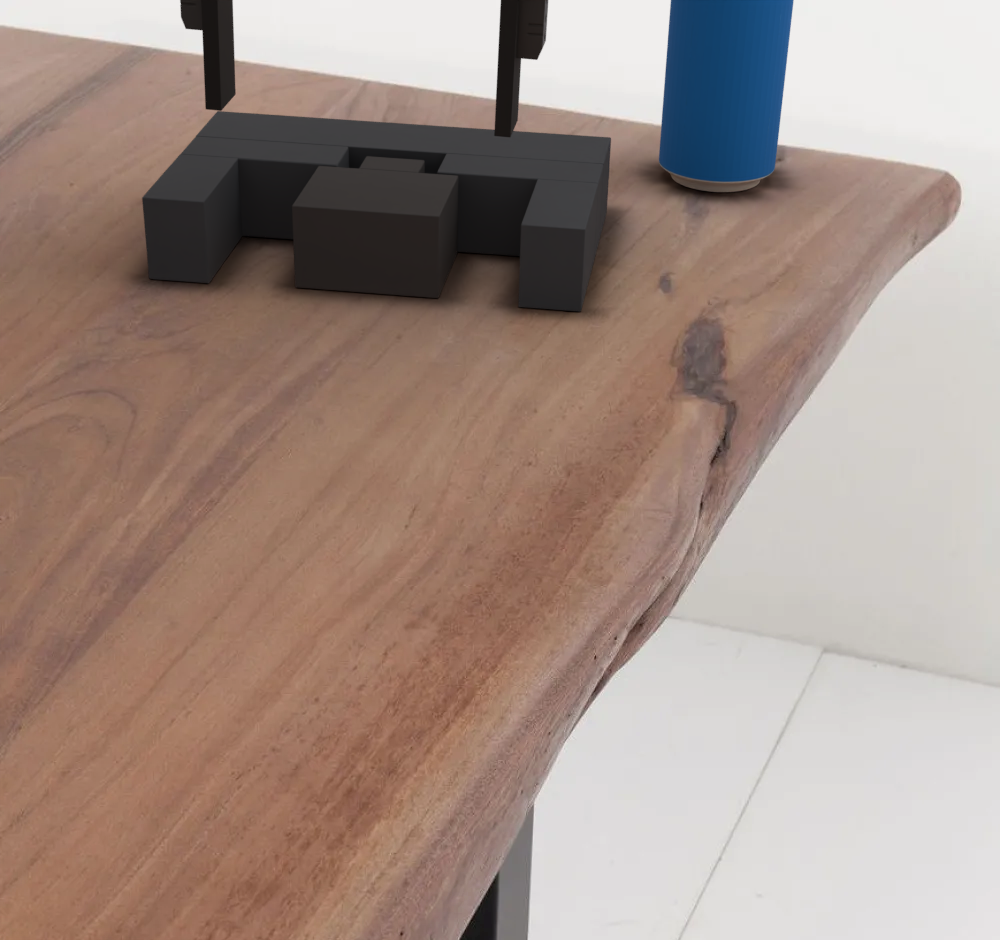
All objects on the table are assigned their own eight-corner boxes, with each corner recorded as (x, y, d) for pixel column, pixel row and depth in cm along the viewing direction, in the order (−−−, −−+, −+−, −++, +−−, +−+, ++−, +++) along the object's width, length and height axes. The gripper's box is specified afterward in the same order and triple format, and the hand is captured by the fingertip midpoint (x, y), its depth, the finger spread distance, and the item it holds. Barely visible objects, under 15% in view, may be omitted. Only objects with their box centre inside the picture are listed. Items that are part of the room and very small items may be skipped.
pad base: (148, 279, 91) (141, 197, 89) (221, 185, 102) (217, 110, 100) (581, 311, 89) (585, 229, 87) (606, 212, 100) (611, 137, 98)
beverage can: (746, 156, 109) (769, -67, 102) (791, 192, 104) (819, -39, 97) (641, 163, 107) (657, -63, 100) (681, 200, 102) (701, -34, 95)
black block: (294, 287, 91) (291, 205, 88) (329, 230, 97) (326, 152, 95) (438, 298, 90) (439, 216, 88) (463, 240, 96) (464, 162, 94)
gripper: (35, -434, 74) (79, 114, 86) (669, -390, 72) (620, 164, 84) (94, -444, 80) (127, 69, 92) (680, -404, 78) (633, 115, 90)
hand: (362, 115), depth 88 cm, fingers open, 13 cm apart
